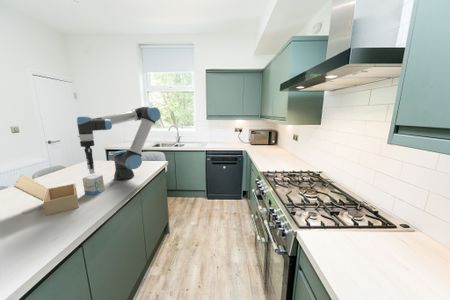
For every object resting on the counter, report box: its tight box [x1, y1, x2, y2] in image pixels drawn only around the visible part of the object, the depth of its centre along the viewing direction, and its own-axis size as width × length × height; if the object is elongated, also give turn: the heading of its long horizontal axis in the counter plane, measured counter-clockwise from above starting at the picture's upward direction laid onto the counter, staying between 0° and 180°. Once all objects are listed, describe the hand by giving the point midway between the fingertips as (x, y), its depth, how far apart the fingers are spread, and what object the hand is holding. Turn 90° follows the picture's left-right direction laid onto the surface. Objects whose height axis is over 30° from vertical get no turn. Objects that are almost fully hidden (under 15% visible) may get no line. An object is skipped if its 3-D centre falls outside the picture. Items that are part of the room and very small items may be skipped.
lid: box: [13, 174, 48, 202], centre depth 107 cm, size 14×22×1 cm
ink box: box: [82, 174, 106, 196], centre depth 132 cm, size 8×8×12 cm
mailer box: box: [42, 183, 80, 216], centre depth 116 cm, size 14×23×8 cm, turn 39°
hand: (91, 171), depth 130 cm, fingers open, 13 cm apart
